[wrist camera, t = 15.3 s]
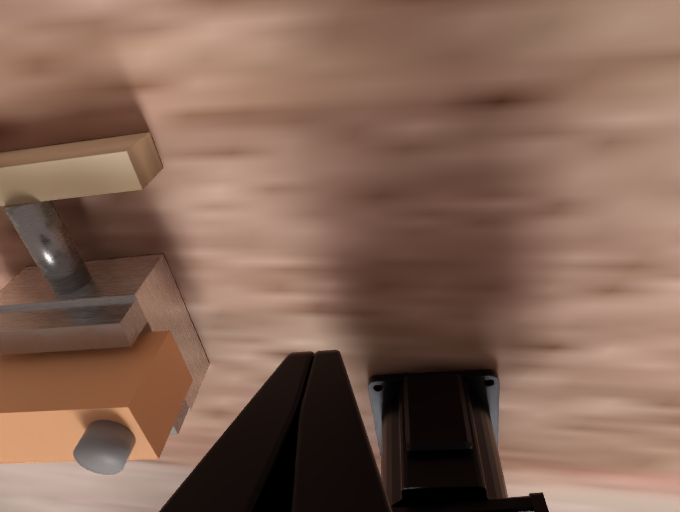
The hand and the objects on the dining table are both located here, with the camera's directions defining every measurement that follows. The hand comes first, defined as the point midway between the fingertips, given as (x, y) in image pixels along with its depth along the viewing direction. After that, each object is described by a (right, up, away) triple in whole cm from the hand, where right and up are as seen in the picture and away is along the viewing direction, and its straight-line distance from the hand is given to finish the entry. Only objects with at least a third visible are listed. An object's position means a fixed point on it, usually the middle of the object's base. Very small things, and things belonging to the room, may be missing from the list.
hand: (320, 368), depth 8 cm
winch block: (-11, 0, +15) cm, 19 cm away
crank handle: (-11, -3, +14) cm, 18 cm away
